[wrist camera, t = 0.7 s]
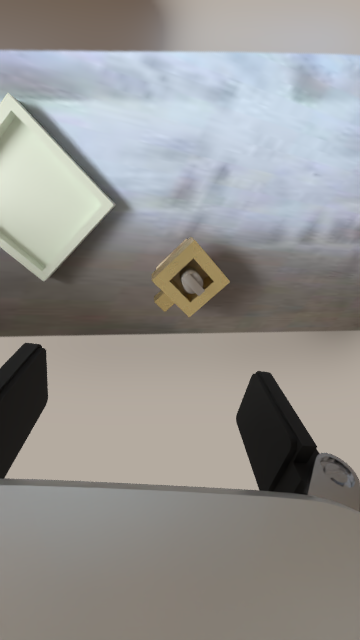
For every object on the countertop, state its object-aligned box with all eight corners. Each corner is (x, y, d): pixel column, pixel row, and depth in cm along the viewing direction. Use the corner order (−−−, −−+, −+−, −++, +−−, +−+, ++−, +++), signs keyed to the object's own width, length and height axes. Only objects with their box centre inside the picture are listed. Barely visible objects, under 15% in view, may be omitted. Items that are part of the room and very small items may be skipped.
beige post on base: (183, 294, 39) (191, 317, 31) (156, 267, 37) (157, 284, 29) (212, 268, 38) (228, 285, 30) (186, 238, 35) (196, 248, 28)
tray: (49, 277, 36) (43, 281, 34) (-51, 196, 30) (-65, 195, 28) (116, 204, 33) (114, 204, 31) (18, 100, 27) (7, 92, 25)
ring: (224, 275, 34) (230, 281, 31) (176, 317, 36) (178, 326, 33) (190, 236, 31) (194, 239, 29) (141, 284, 33) (140, 291, 31)
